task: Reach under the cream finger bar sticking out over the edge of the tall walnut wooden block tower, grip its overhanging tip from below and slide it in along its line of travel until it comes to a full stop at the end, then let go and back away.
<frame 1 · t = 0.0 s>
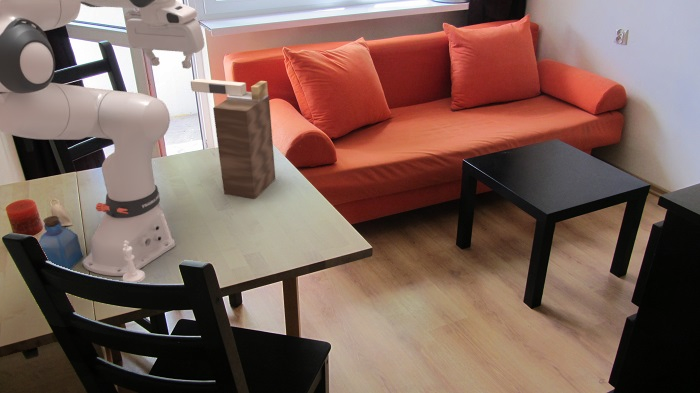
hand: (171, 66, 145), 39 cm above the table, tool pointing down, fingers open, 8 cm apart
wooden block tower: (250, 186, 170), on the table
chess piece: (134, 278, 130), on the table, touching arm
decorative ornament: (63, 221, 153), on the table
finger bar: (217, 87, 162), point 29 cm above the table, slide at 0.0 cm
perfume bottle: (64, 263, 135), on the table
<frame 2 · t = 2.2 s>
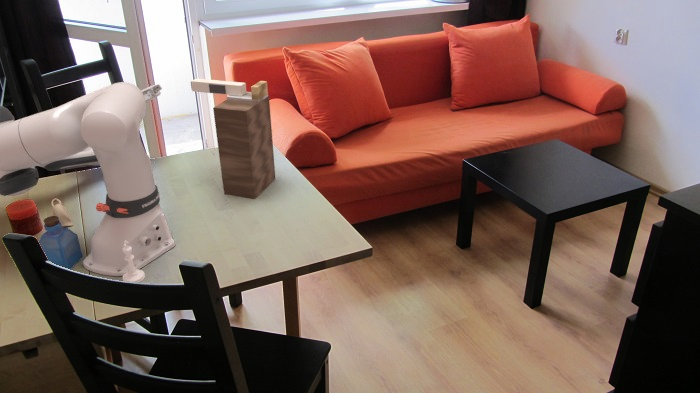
hand: (150, 91, 171), 25 cm above the table, tool pointing upward, fingers open, 8 cm apart
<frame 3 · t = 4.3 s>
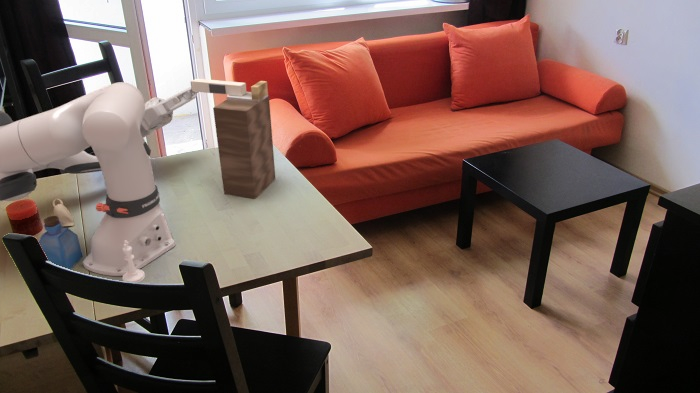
hand: (188, 94, 168), 26 cm above the table, tool pointing upward, fingers open, 8 cm apart
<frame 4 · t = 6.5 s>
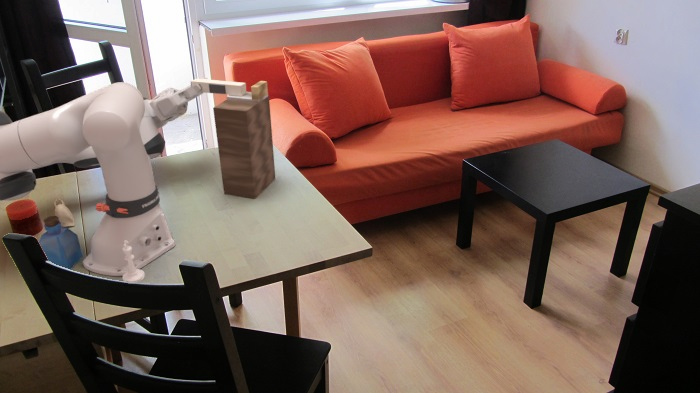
hand: (204, 84, 163), 29 cm above the table, tool pointing upward, fingers closed on finger bar, 3 cm apart
finger bar: (217, 87, 162), point 29 cm above the table, slide at 0.0 cm, touching gripper
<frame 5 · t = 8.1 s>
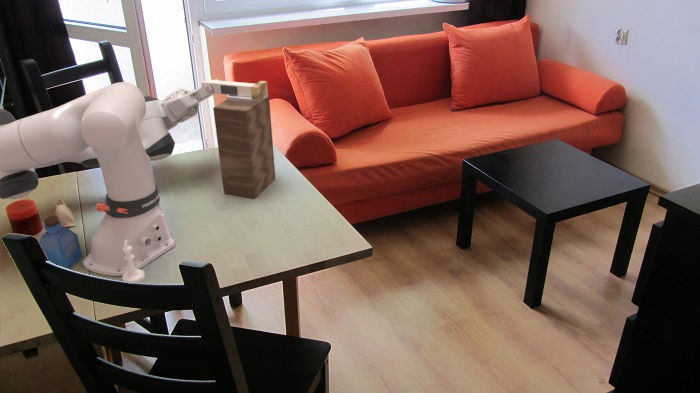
hand: (215, 85, 162), 29 cm above the table, tool pointing upward, fingers closed on finger bar, 3 cm apart
finger bar: (229, 88, 161), point 29 cm above the table, slide at 3.8 cm, touching gripper
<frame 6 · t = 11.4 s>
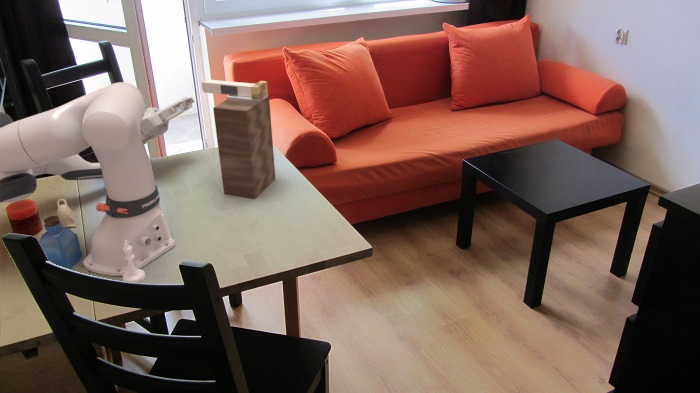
hand: (183, 104, 169), 22 cm above the table, tool pointing upward, fingers open, 8 cm apart
finger bar: (229, 88, 161), point 29 cm above the table, slide at 3.8 cm
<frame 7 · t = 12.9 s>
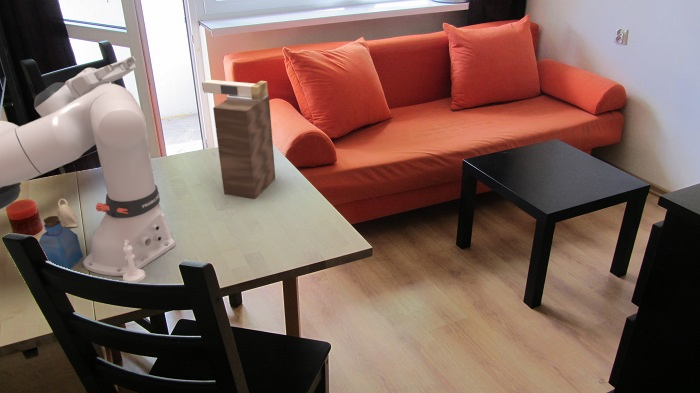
hand: (122, 63, 158), 36 cm above the table, tool pointing upward, fingers open, 8 cm apart
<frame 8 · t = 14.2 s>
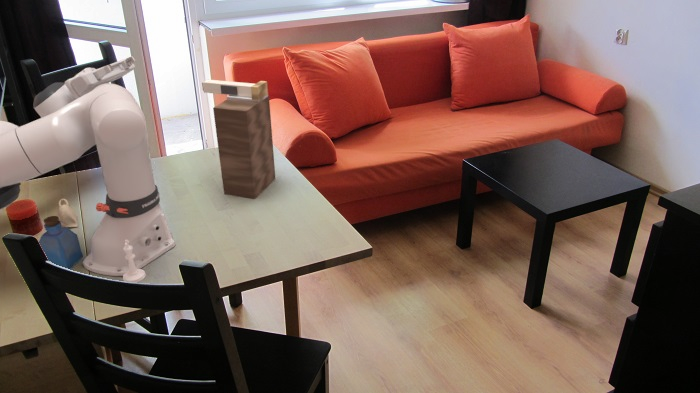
hand: (121, 63, 158), 36 cm above the table, tool pointing upward, fingers open, 8 cm apart
at the end: finger bar slide at 3.8 cm; the gripper is holding nothing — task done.
